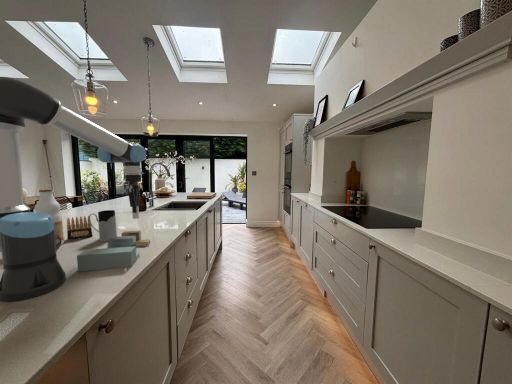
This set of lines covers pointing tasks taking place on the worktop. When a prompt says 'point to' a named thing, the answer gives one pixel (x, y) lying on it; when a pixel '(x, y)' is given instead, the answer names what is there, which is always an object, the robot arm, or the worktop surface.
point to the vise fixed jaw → (107, 258)
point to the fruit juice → (51, 210)
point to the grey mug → (106, 224)
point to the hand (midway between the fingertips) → (136, 218)
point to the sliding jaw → (138, 238)
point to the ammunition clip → (78, 229)
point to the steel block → (122, 241)
